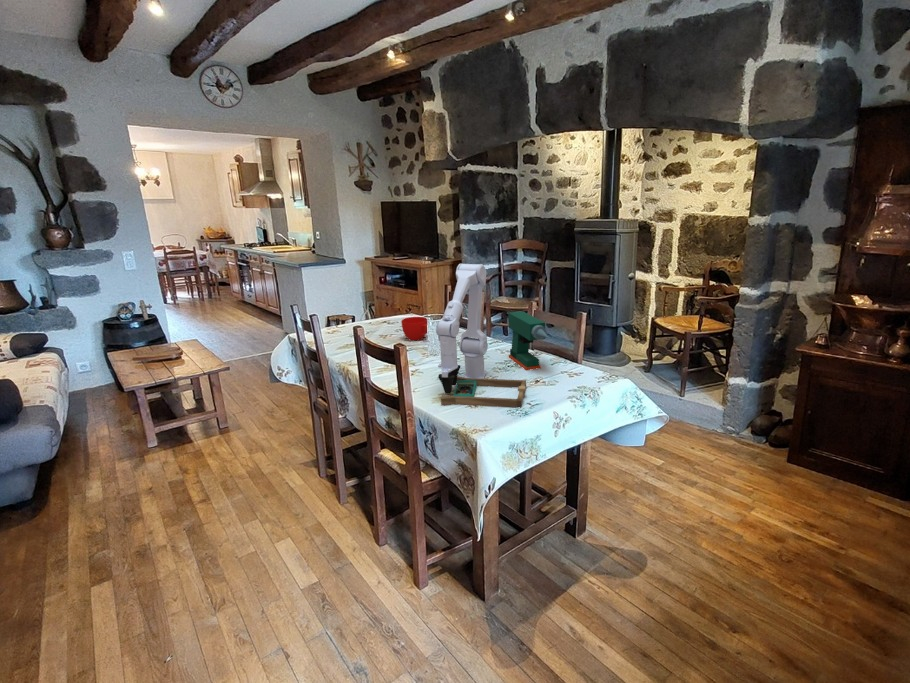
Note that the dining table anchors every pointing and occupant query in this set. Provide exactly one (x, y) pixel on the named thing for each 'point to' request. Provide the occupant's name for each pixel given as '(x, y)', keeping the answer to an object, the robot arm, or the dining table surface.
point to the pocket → (489, 401)
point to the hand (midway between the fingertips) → (450, 389)
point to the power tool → (525, 338)
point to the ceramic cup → (414, 327)
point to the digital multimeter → (465, 388)
